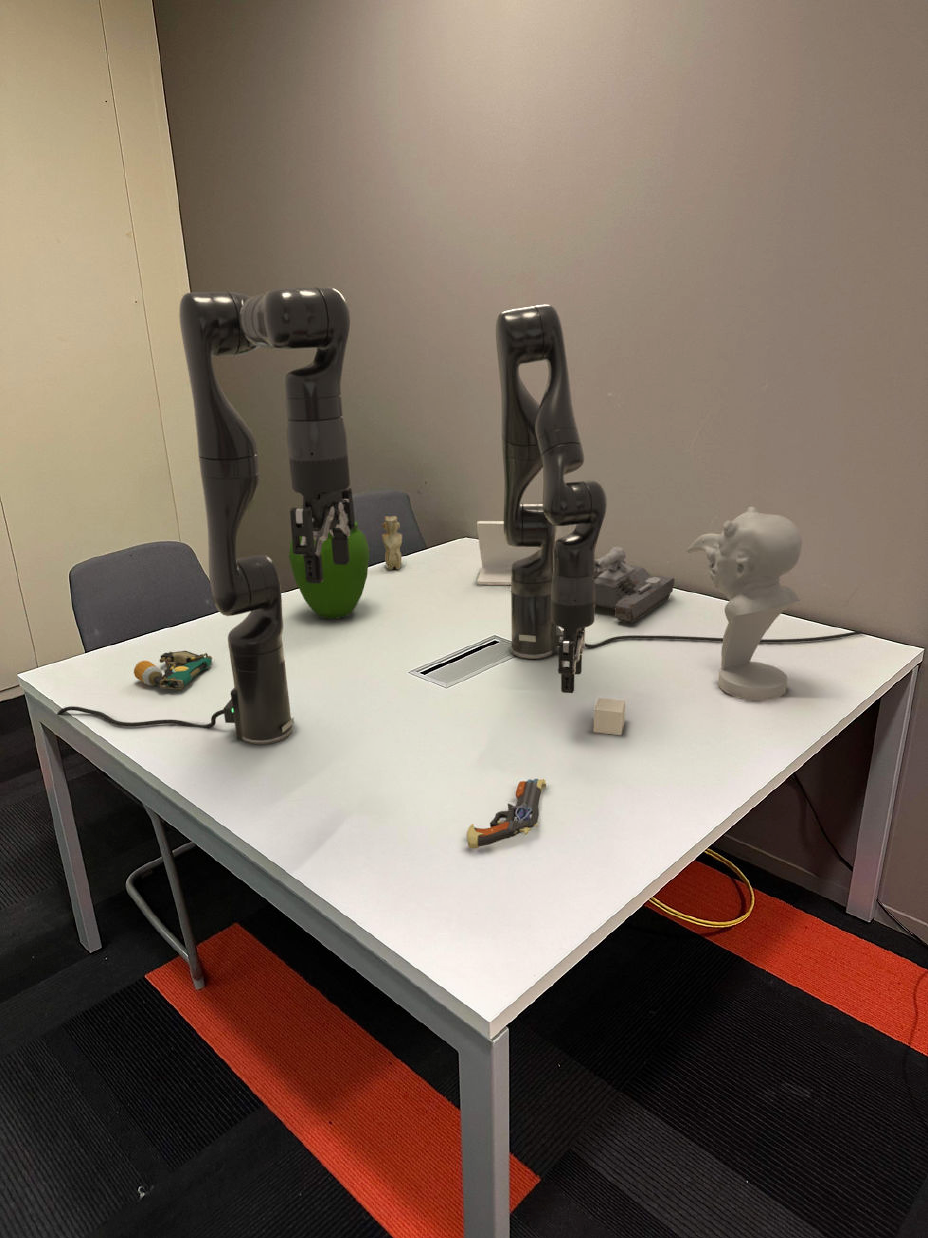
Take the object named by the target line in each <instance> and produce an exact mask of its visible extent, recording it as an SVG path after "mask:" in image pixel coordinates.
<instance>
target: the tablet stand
mask: <svg viewBox="0 0 928 1238" xmlns="http://www.w3.org/2000/svg"><path fill="white" fill-rule="evenodd" d="M476 531H477V537H478V544H479V551H480V557H481V558H480V559H481V570H480V573H479V575H478V577H477V580H476V581H477V582H476V584H478V585H484V586H485V585H486V586H487V585H489V586H490V585H491V586H511V567H512V565H513V563H515V562H516V561H518V560H520V559H523V558H526V557H529V556H531V555H533V554H534V553H536V552H537V551H538V550H539V549H540V547H514V546H510V545H508V544H507V542H506V540H505V536H504V520H477V522H476ZM569 534H571V525H567V526H556V534H555V542H556V540H558V539H560V538H562V537H564V536H567V535H569Z"/></svg>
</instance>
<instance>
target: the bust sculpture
mask: <svg viewBox="0 0 928 1238" xmlns="http://www.w3.org/2000/svg"><path fill="white" fill-rule="evenodd" d="M802 547H803V546H802V535H801V532H800V530H799V529H798V527H797V526H796V525H795V523H794V522H792V521H791V520H790V519H788V518H786V517H785V516H783V515H778V514H773V513H772V514H771V513H770V514H769V513H761V512H759V511H758V509H757V508H756V507H755V506H749V507H747V510H746V511H745V512H744V513H741V514H740V515H738V516H737V517H735V518H734V519H733V520H726V521H724V523H723V524H722V532H721V533H720V534H718V533H715V532H713V533H712V532H711V533H704V534H701V535H699V536H698V537H697V538H696V539H694V541H693V543H692V544H690V545H689V547H687V548H686V553H689V554H691V553H695V552H700V551H702V552H705V553H706V557H707V560H708V562H709V563H710V564H708V573H709V575H710V579H711V580H712V582H713V583H714V586H715V588H716V589H717V591H720V593H722V594H723V595H724V596H725V597H727V599H728V602H727V603H726V604H725V606H724V614H725V618H726V620H727V622H728V623H727V625H726V628H725V630H724V634H723V637H722V638H723V641H722V645H721V651H720V654H721V663H720V668H719V671H718V680H717V683H718V684H717V685H718V687H719V688H720V690H722V691H723V692H724V693H725V694H728V695H730V696H732V697H735V698H739V699H742V700H749V701H770V700H771V701H772V700H776V699H778V698H779V699H780V698H781V697H782V696H784V695H785V694H786V692H787V685H788V676H787V674H786V673H785V672H784V671H783V670H782V669H780V668H778V667H776V666H774V665H771V664H767V663H764V662H759V661H758V662H757V661H752V658H753V655H754V653H755V652H756V650H757V648H758V646H759V644H760V643H759V642H760V641H761V639H763V637H764V636H765V634H767V632H768V630H769V628H770V627H771V626H772V624H773V623H774V622H775V621H776V619H777V618H778V617H779V616H780V615H781V614H782V613H783V612H785V611H786V610H787V609H788V608H789V607H791V606H792V605H794V604H795V603H797V602H800V601H801V599H800V596H799V595H798V594H797V593H796V591H795V590H794V589H793V588H792V587H790V586H787V585H781V583H780V582H781V578H780V577H781V576H783V575H786V574H788V573H789V572H790V571H791V570H792V569H793V568H795V567H796V565H797V564H798V562H799V559H800V557H801V552H802Z"/></svg>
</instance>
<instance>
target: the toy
mask: <svg viewBox="0 0 928 1238" xmlns="http://www.w3.org/2000/svg"><path fill="white" fill-rule="evenodd" d="M626 557H627V556H626V551H625V549H624V548H622V547H621V546H614V547H612V548H611V549H610V550H609V552H608V553H607V554H605V555H604V556H601V557H599V558H598V559H597V557H595V558H594V578H595V606H598V607H602V608H603V607H604V608H609V609H613V610H614V618H615V619H617V620H618V621H621V622H626V623H631V624H634V623H635V622H637V621H638V620H640V619H641V618H642V617H644V616H645V615H647V614H648V613H650V612H651V611H652V610H654V609H655V608H657V607H659V606H660V605H661V604H663V603H664V602H666V601H667V600H669V598H670V596H671V594H672V593H673V591H674V585H675V580H676V579H675V578H673V577H668V576H663V575H656V576H655V577H654V576H651V574H650V573H649V572H648V571H647V570H646V568H644V567H641V566H635V565H629V564H628V563H627V562H626V561H625V559H626Z"/></svg>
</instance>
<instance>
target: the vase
mask: <svg viewBox="0 0 928 1238" xmlns="http://www.w3.org/2000/svg"><path fill="white" fill-rule="evenodd" d="M346 516H347V518H348V515H347V514H346ZM358 524H359V523H358V521H356V520H355V528H354V530H352V529H350V536H349V537H347V538H348V545H349V558H350V562H349V563H348V564H346V565H338V564H335V563H334V562H333V552H332V541H331V539H332V538H333V537H334V536H332V535H331V533H330V532H329V533H328V538H327V539H326V540H325V541H323V545H322V550H321V554H320V555H321V557H322V568H323V581H322V582H321V583H319V584H317V583H308V582H307V581H306V575H305V565H304V557H303V555H299V554H294V553H293V545H292V539H291V540H290V542H289V551H288V559H289V564H290V566H291V567H290V568H291V570H292V575H293V578H294V581H295V584H296V586H297V587H298V589H299V591H300V593H301V596H302V597H303V600H304V601H305V603H306V604H307V605H308V607H309V608H310V609H311V611H312V612H314V613H315V614H316V615H317V616H318V617H320V618H324V619H326V620H327V619H329V620H336V619H341V618H345V617H347V616H349V615H350V614H351V613H352V612H353V611H354V610H355V608H356V607H357V605H358V604H359V601H360V599H361V597H362V595H363V592H364V588H365V586H366V581H367V578H368V570H369V561H370V560H369V559H370V548H369V545H368V541H367V537H366V535H365V534H364V533H363V532H362V531H361V530H360V529H359V527H358ZM301 542H302V536H300V545H301ZM315 542H316V540H314V546H315Z"/></svg>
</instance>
